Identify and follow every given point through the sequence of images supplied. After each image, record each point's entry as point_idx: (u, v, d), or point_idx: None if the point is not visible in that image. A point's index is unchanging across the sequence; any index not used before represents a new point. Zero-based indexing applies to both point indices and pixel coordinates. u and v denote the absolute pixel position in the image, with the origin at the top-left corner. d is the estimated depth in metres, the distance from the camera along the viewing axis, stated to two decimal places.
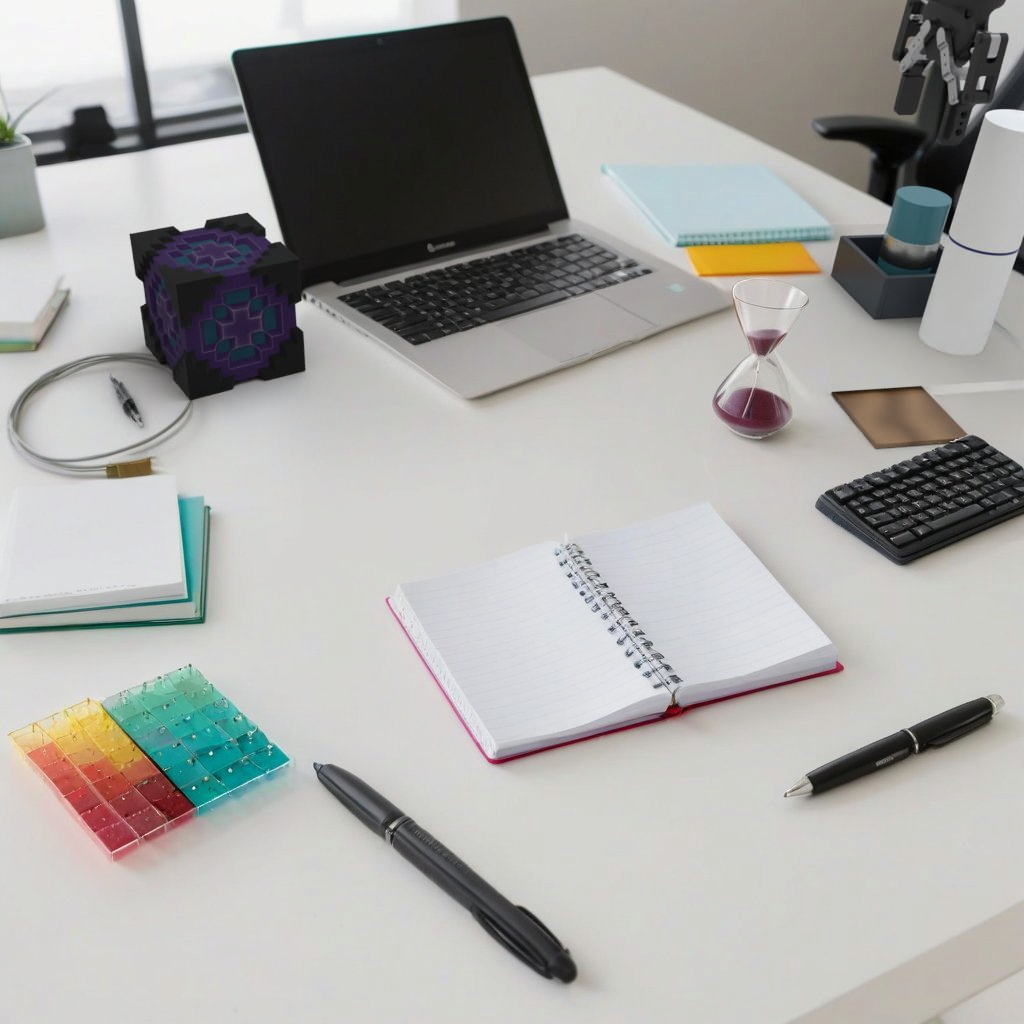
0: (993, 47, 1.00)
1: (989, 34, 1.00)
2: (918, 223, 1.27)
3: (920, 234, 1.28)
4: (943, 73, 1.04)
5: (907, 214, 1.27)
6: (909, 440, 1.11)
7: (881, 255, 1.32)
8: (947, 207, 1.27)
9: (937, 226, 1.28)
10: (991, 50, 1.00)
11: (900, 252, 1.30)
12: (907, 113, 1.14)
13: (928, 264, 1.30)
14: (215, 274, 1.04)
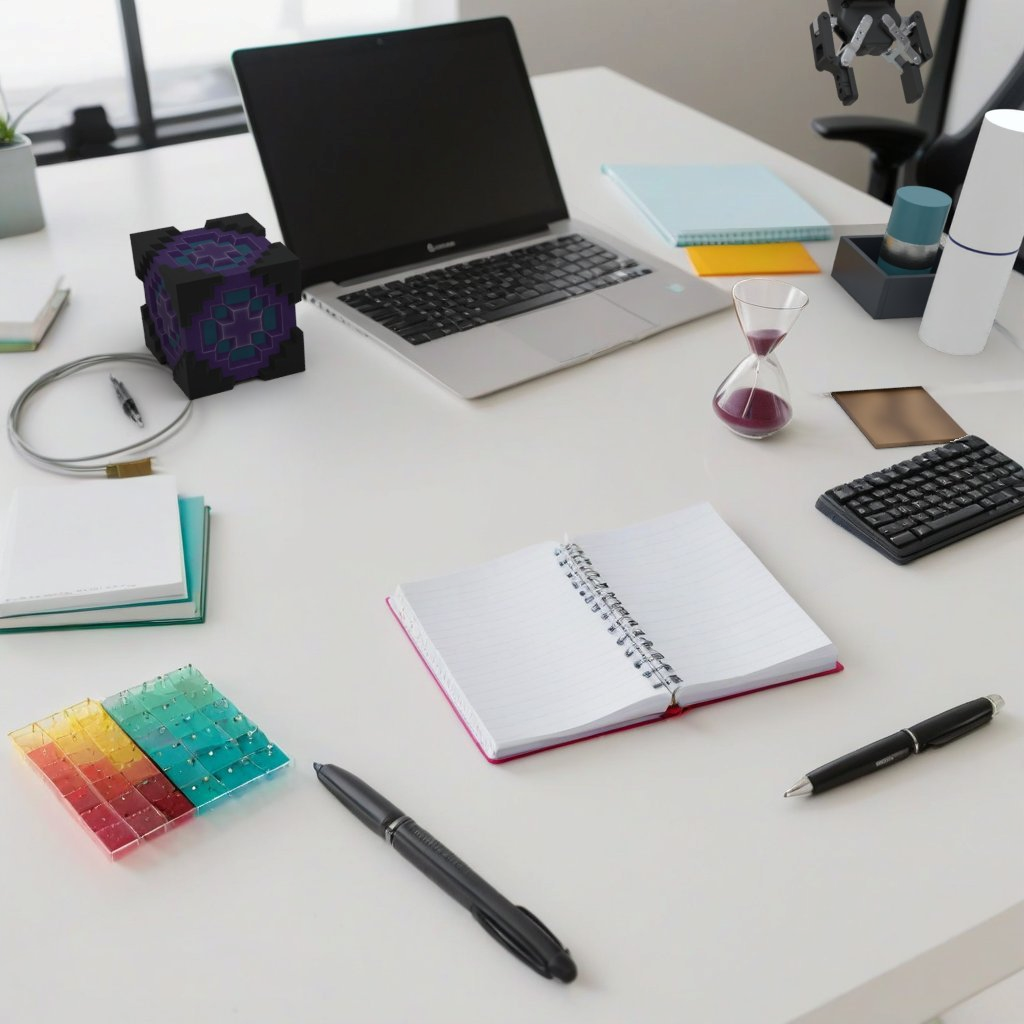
0: (815, 26, 1.32)
1: None
2: (918, 223, 1.27)
3: (920, 234, 1.28)
4: None
5: (907, 214, 1.27)
6: (909, 440, 1.11)
7: (881, 255, 1.32)
8: (947, 207, 1.27)
9: (937, 226, 1.28)
10: (814, 28, 1.32)
11: (900, 252, 1.30)
12: (912, 98, 1.34)
13: (928, 264, 1.30)
14: (215, 274, 1.04)
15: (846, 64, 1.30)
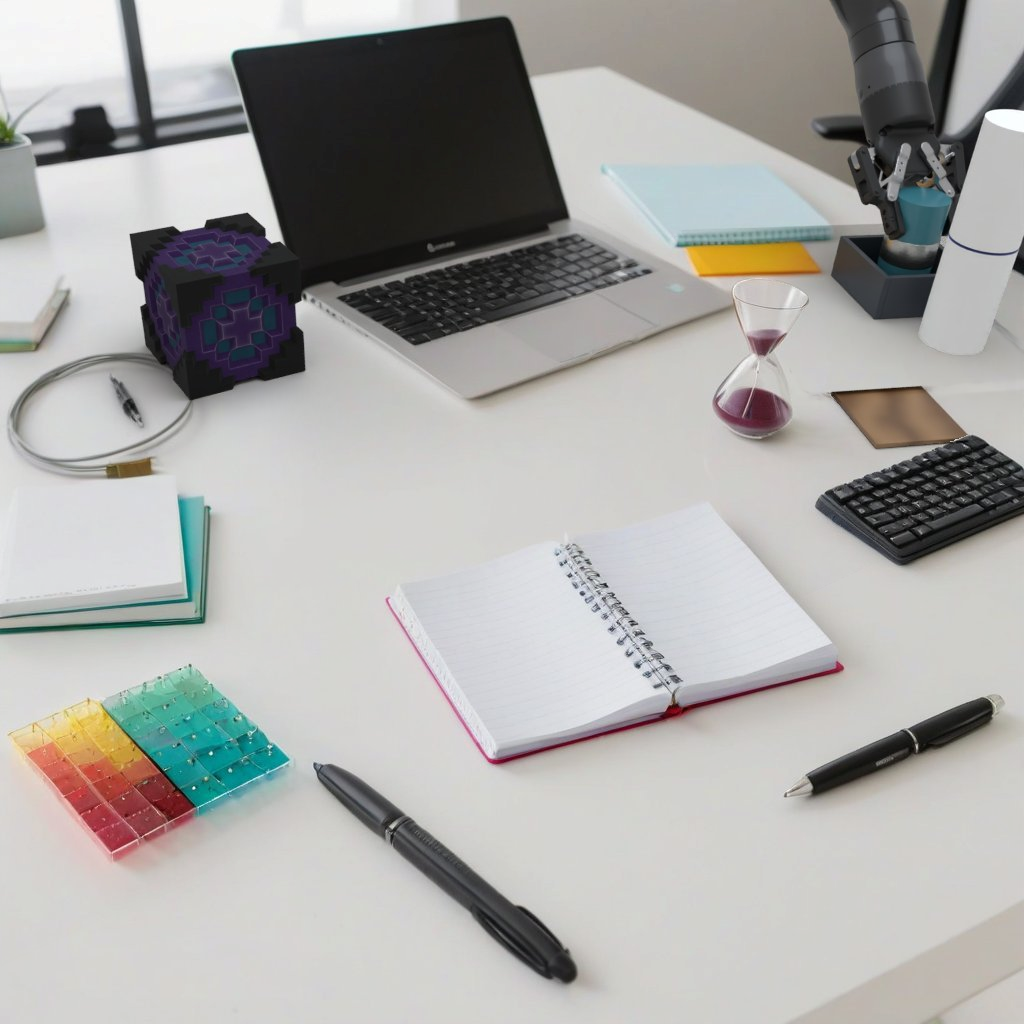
0: (854, 161, 1.28)
1: (851, 154, 1.29)
2: (918, 223, 1.27)
3: (920, 234, 1.28)
4: None
5: (907, 214, 1.27)
6: (909, 440, 1.11)
7: (881, 255, 1.32)
8: (947, 207, 1.27)
9: (937, 226, 1.27)
10: (854, 163, 1.29)
11: (900, 252, 1.30)
12: (946, 232, 1.30)
13: (928, 264, 1.30)
14: (215, 274, 1.04)
15: (893, 199, 1.28)
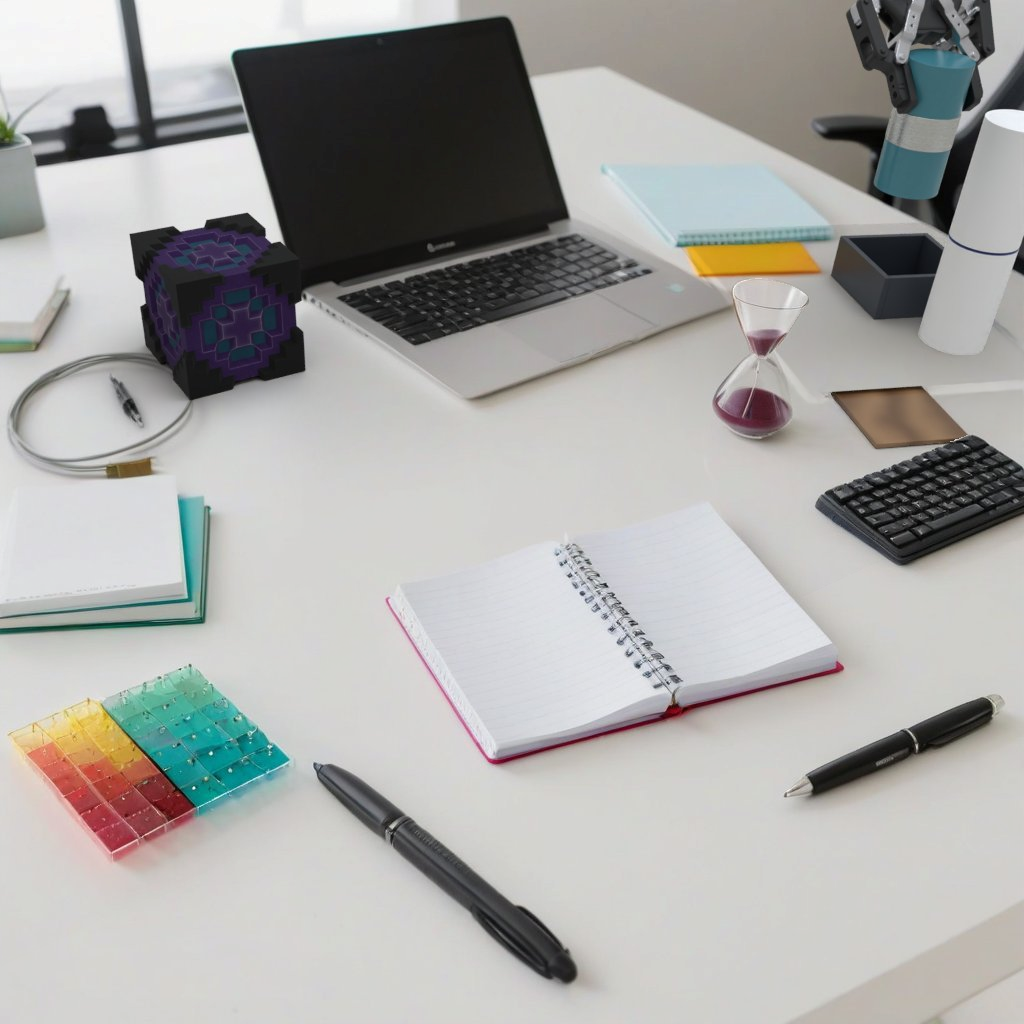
0: (854, 15, 1.03)
1: (851, 7, 1.04)
2: (933, 90, 1.02)
3: (936, 105, 1.03)
4: None
5: (920, 80, 1.02)
6: (909, 440, 1.11)
7: (887, 136, 1.07)
8: (970, 70, 1.02)
9: (957, 94, 1.02)
10: (854, 18, 1.03)
11: (911, 130, 1.05)
12: (968, 105, 1.05)
13: (946, 145, 1.05)
14: (215, 274, 1.04)
15: (903, 61, 1.02)
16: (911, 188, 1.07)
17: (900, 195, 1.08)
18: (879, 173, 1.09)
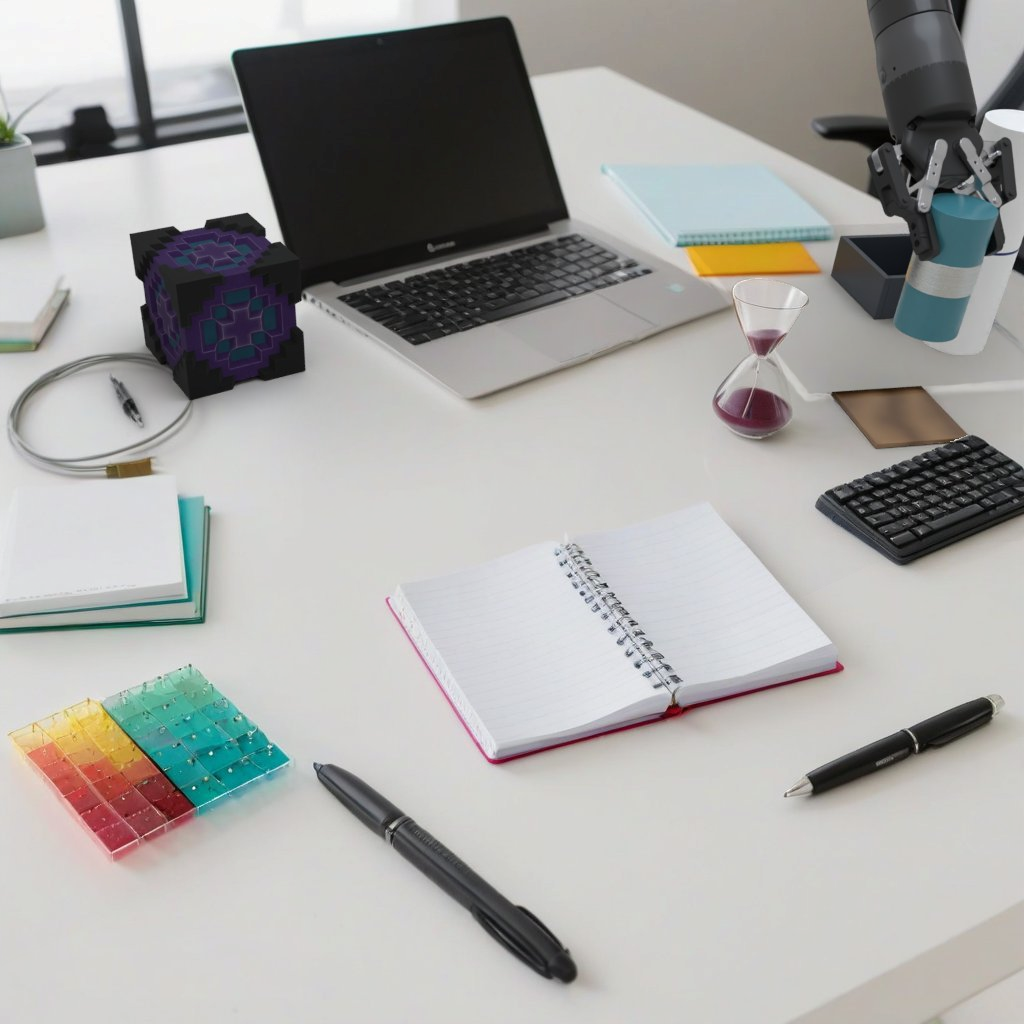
0: (875, 161, 1.02)
1: None
2: (956, 239, 1.01)
3: (959, 254, 1.01)
4: None
5: (943, 229, 1.01)
6: (909, 440, 1.11)
7: (908, 279, 1.06)
8: (993, 220, 1.00)
9: (980, 243, 1.01)
10: (876, 164, 1.02)
11: (932, 277, 1.03)
12: (990, 251, 1.04)
13: (967, 291, 1.04)
14: (215, 274, 1.04)
15: (925, 210, 1.01)
16: (931, 331, 1.06)
17: (920, 338, 1.07)
18: (899, 314, 1.08)
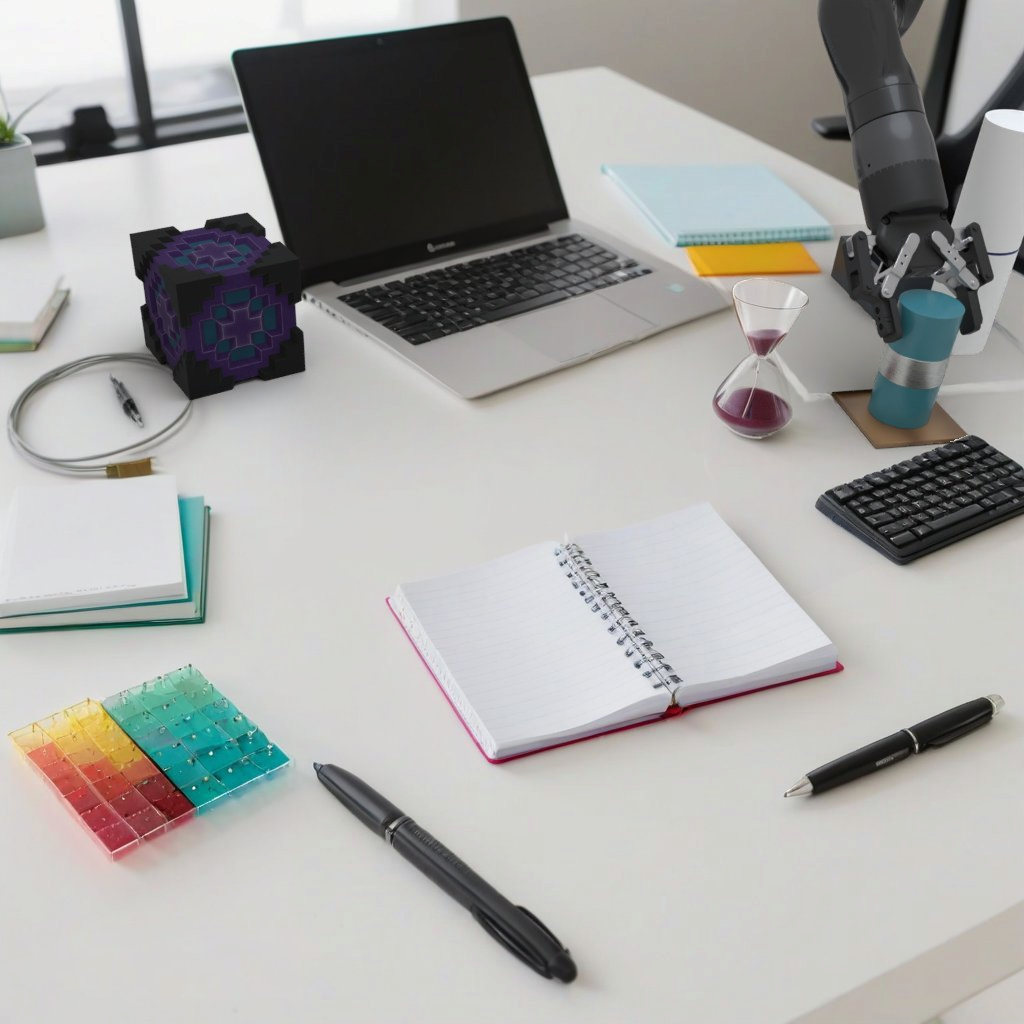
0: (849, 247, 1.07)
1: (848, 238, 1.08)
2: (925, 336, 1.06)
3: (927, 349, 1.07)
4: None
5: (912, 326, 1.07)
6: (909, 440, 1.11)
7: (881, 369, 1.12)
8: (960, 318, 1.06)
9: (948, 339, 1.07)
10: (848, 250, 1.08)
11: (903, 369, 1.09)
12: (968, 331, 1.09)
13: (937, 382, 1.10)
14: (215, 274, 1.04)
15: (888, 295, 1.06)
16: (903, 419, 1.12)
17: (893, 424, 1.12)
18: (873, 401, 1.14)
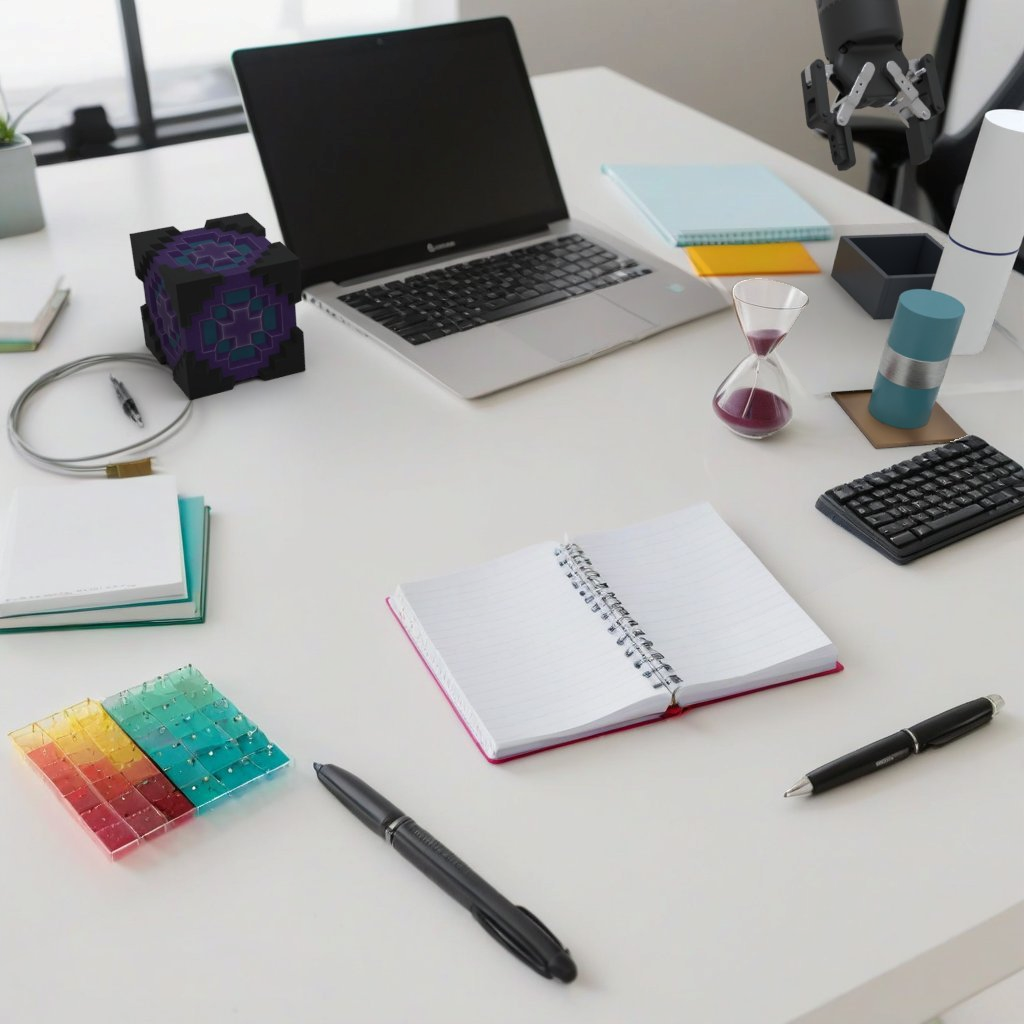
0: (807, 75, 1.12)
1: None
2: (925, 336, 1.06)
3: (927, 349, 1.07)
4: None
5: (912, 326, 1.07)
6: (909, 440, 1.11)
7: (881, 369, 1.12)
8: (960, 318, 1.06)
9: (948, 339, 1.07)
10: (807, 78, 1.12)
11: (903, 369, 1.09)
12: (919, 160, 1.14)
13: (937, 382, 1.10)
14: (215, 274, 1.04)
15: (842, 123, 1.11)
16: (903, 419, 1.12)
17: (893, 424, 1.12)
18: (873, 401, 1.14)
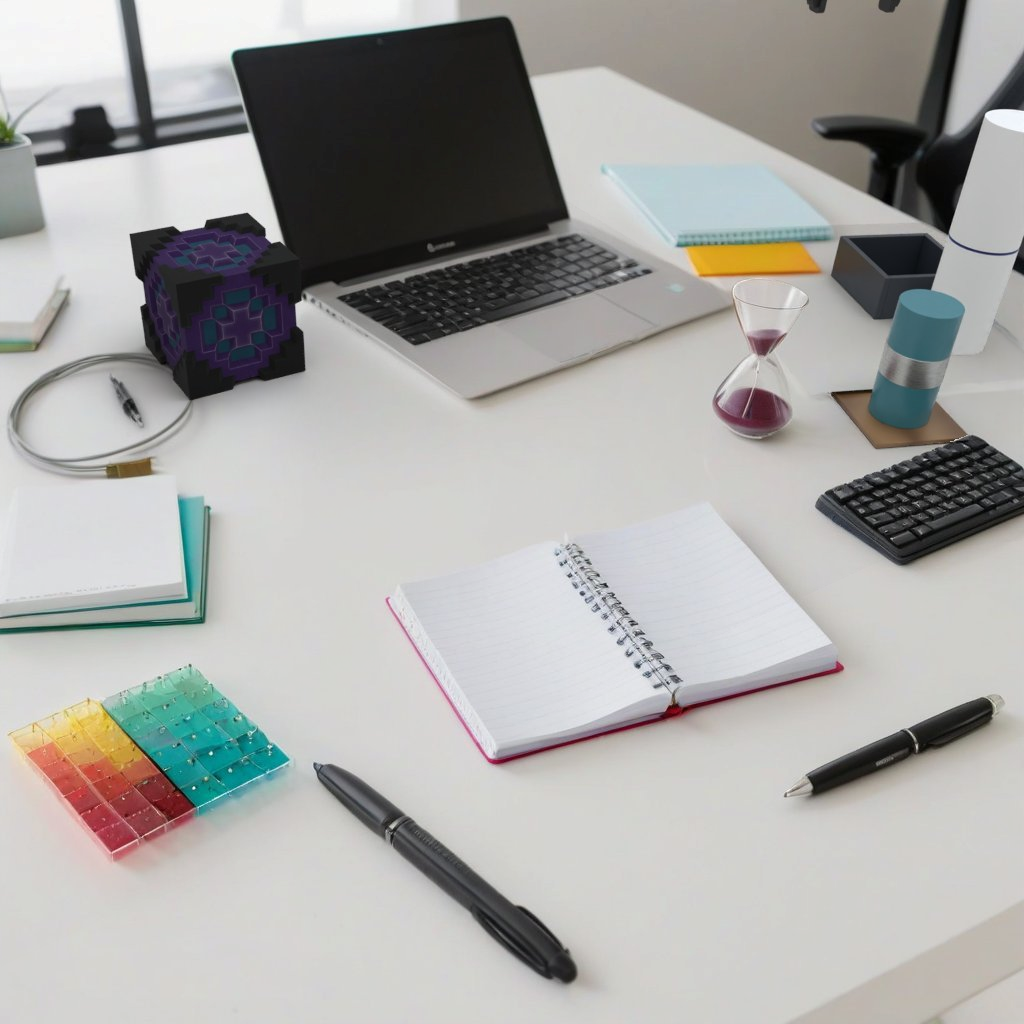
0: None
1: None
2: (925, 336, 1.06)
3: (927, 349, 1.07)
4: None
5: (912, 326, 1.07)
6: (909, 440, 1.11)
7: (881, 369, 1.12)
8: (960, 318, 1.06)
9: (948, 339, 1.07)
10: None
11: (903, 369, 1.09)
12: (883, 9, 1.24)
13: (937, 382, 1.10)
14: (215, 274, 1.04)
15: None
16: (903, 419, 1.12)
17: (893, 424, 1.12)
18: (873, 401, 1.14)
